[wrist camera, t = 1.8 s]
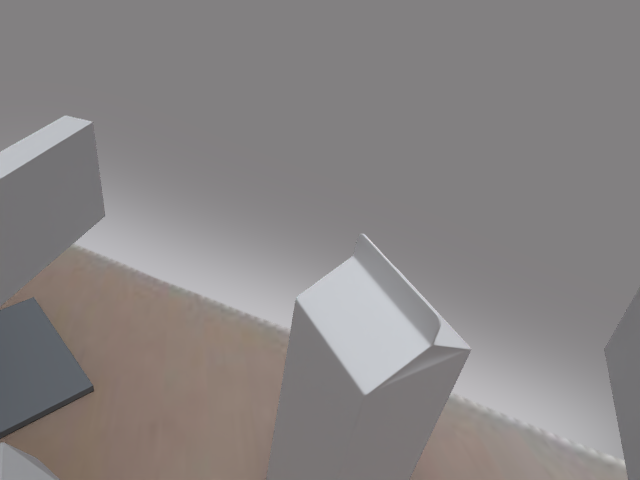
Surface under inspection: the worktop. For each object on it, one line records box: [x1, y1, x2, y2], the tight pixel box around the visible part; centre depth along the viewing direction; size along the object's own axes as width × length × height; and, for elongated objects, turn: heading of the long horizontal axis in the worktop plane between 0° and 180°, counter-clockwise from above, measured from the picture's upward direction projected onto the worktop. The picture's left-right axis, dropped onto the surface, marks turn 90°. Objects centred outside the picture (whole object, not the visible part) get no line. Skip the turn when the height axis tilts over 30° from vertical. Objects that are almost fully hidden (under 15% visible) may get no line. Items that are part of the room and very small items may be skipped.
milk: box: [266, 234, 471, 480], centre depth 31 cm, size 6×6×22 cm
